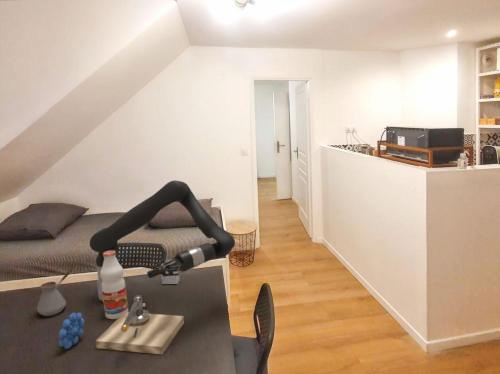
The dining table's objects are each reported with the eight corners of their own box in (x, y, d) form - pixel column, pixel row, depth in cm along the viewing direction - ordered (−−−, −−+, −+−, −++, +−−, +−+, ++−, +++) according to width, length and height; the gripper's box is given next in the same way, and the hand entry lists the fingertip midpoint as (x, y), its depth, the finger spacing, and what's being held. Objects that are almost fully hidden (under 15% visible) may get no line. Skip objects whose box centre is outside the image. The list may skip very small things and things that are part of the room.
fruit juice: (128, 306, 161) (121, 246, 155) (128, 317, 152) (120, 254, 146) (106, 310, 158) (98, 250, 153) (104, 321, 149) (95, 257, 144)
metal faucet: (131, 315, 146) (128, 294, 145) (151, 313, 147) (149, 293, 145) (114, 351, 124) (111, 326, 122) (138, 349, 124) (135, 325, 123)
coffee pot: (52, 320, 152) (46, 287, 149) (31, 316, 156) (25, 284, 153) (88, 296, 172) (84, 266, 169) (69, 293, 176) (65, 265, 173)
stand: (96, 348, 131) (95, 340, 131) (125, 318, 151) (125, 311, 150) (162, 354, 126) (161, 346, 125) (184, 322, 145) (183, 315, 145)
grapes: (77, 333, 141) (72, 305, 139) (90, 336, 139) (86, 307, 137) (52, 352, 130) (47, 321, 128) (66, 355, 128) (62, 324, 126)
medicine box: (179, 281, 184) (178, 265, 182) (177, 285, 180) (175, 268, 178) (164, 281, 185) (163, 265, 183) (161, 285, 180) (160, 268, 179)
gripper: (180, 245, 146) (139, 259, 136) (197, 255, 135) (153, 272, 125) (183, 261, 148) (143, 277, 138) (199, 273, 137) (157, 291, 128)
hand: (148, 275), depth 132 cm, fingers closed
